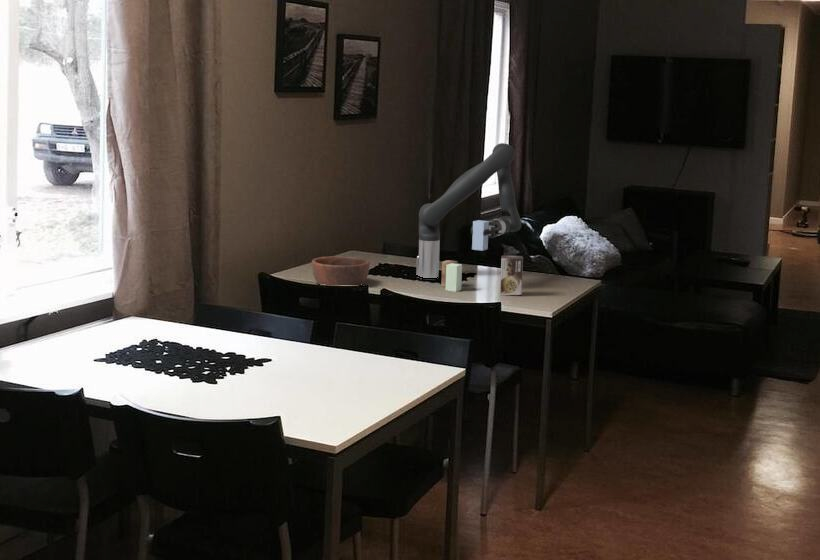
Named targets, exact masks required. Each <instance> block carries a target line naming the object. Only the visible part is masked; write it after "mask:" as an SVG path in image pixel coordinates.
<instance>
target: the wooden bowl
mask: <svg viewBox="0 0 820 560" xmlns="http://www.w3.org/2000/svg"><path fill="white" fill-rule="evenodd" d="M370 265H371V262H370V260H369V259H367V258H363V257H357V256H350V255H349V256H347V255H346V256H345V255H336V256H335V255H334V256H333V255H332V256H319V257H317V258H316V257H315V258H313V259H312V260H311V269H312V275H313V278H314V280H315V282H316V283H317V285H319V284H326V285H361V284H363V285H364V284H365V283H366V281H367V279H368V276H369V271H370ZM361 286H362V285H361Z"/></svg>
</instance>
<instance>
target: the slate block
mask: <svg viewBox="0 0 820 560" xmlns="http://www.w3.org/2000/svg"><path fill="white" fill-rule="evenodd" d="M472 226H473V234H472V238H471V239H472V242H471V243H472V244H471V250H474V251H482V252H483V251H486V250H489V246H488V245H489V237H488V235H486V236H483V231H484V230H488V228H489V220H481V219H478V220H473V221H472Z"/></svg>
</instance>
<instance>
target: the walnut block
mask: <svg viewBox="0 0 820 560" xmlns="http://www.w3.org/2000/svg"><path fill="white" fill-rule="evenodd" d="M458 262H459V261H458V260H449V259H448V260H447V259H446V260H444V261H441V281H440V282H441V284H440V285H441V288H446V265H447V264H451V263H454V264H459V263H458Z"/></svg>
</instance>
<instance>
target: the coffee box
mask: <svg viewBox="0 0 820 560" xmlns="http://www.w3.org/2000/svg"><path fill="white" fill-rule="evenodd" d="M500 261H501V262H500V263H501V264H500V265H501V266H500V292H499V295H500V294H523V266H524V265H523V263H524V256H523V255H501V259H500Z"/></svg>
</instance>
